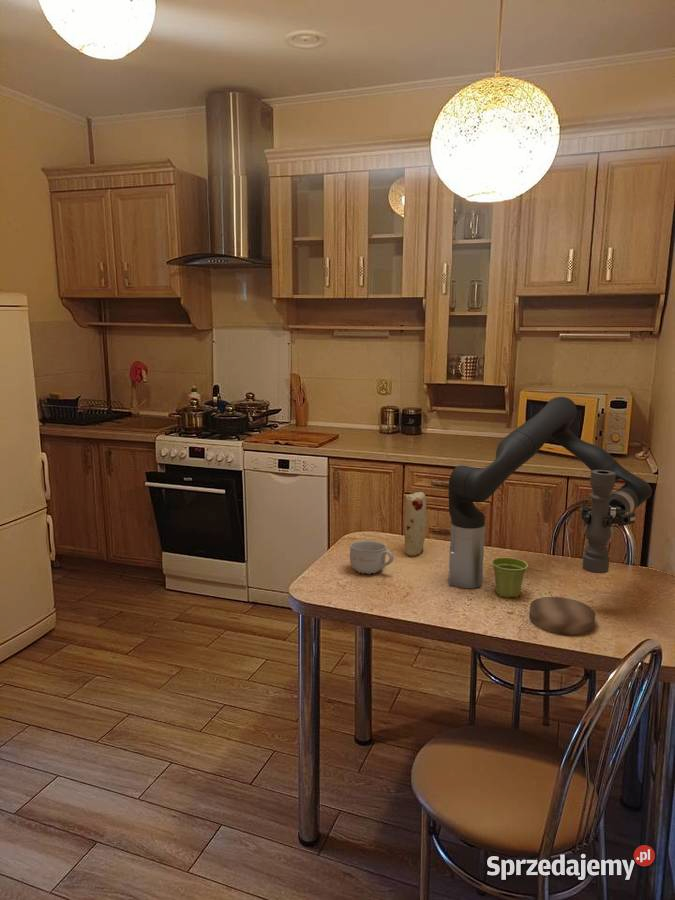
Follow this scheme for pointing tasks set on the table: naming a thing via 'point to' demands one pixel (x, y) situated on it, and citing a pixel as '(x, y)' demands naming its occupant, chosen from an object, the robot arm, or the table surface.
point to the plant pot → (508, 575)
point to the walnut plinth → (562, 616)
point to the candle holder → (598, 522)
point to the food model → (415, 523)
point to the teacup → (369, 556)
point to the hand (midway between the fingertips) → (596, 522)
